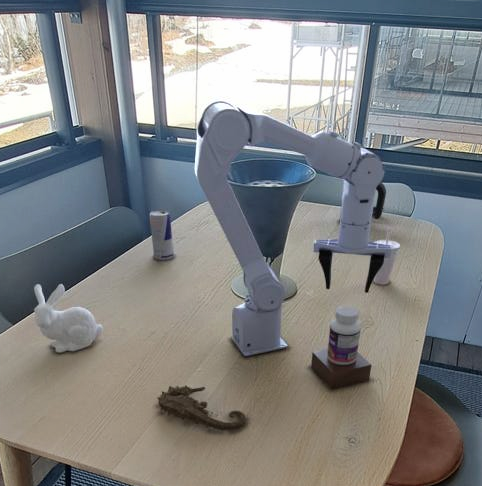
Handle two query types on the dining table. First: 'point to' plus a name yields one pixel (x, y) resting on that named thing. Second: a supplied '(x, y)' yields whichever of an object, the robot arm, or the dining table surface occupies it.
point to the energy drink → (161, 234)
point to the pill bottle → (344, 336)
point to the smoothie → (387, 261)
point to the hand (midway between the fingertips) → (347, 288)
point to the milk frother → (380, 200)
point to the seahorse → (194, 408)
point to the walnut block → (340, 370)
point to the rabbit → (65, 323)
